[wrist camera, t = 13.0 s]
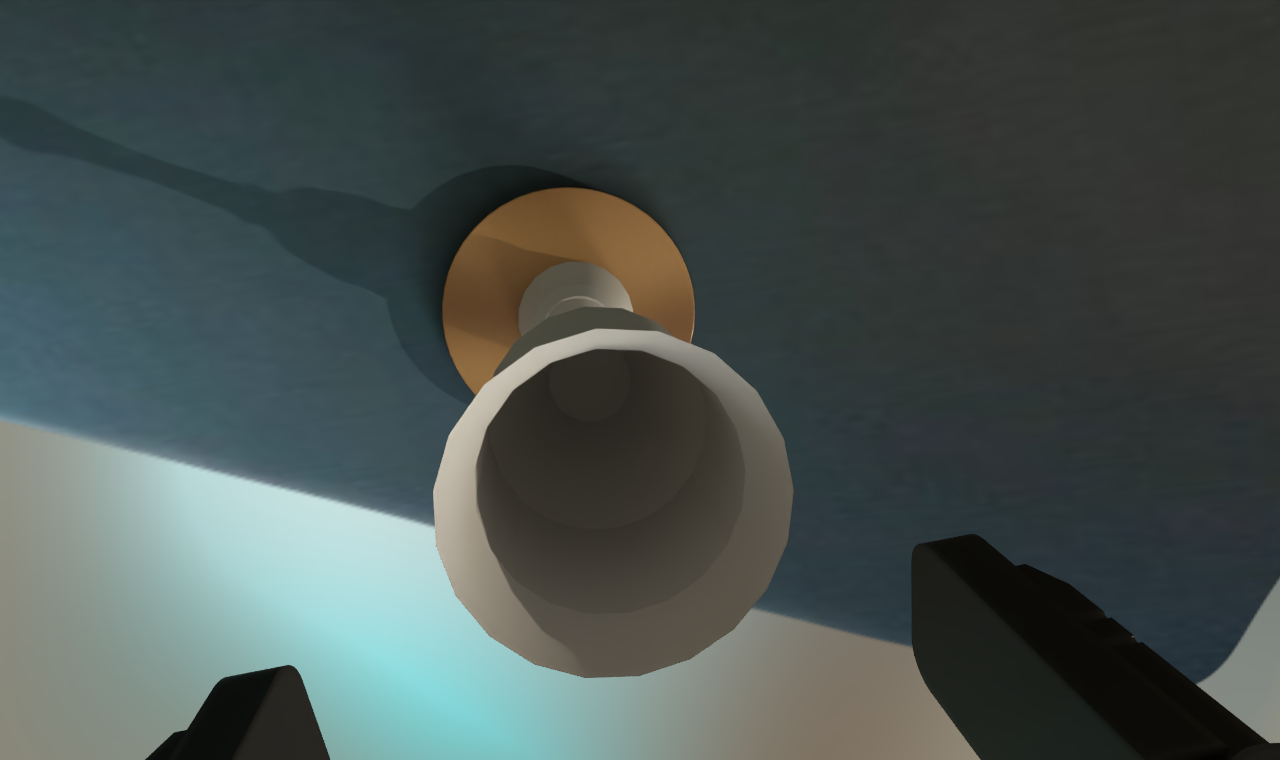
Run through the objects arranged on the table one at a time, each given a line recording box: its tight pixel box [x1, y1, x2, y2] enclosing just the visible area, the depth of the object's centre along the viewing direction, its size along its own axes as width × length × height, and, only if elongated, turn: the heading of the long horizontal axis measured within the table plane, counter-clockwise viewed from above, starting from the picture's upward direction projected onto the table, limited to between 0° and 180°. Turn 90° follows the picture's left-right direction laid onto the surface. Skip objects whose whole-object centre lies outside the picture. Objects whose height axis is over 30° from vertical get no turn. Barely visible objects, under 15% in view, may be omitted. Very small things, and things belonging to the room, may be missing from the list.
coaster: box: [442, 187, 695, 395], centre depth 30 cm, size 11×11×1 cm
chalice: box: [433, 262, 793, 678], centre depth 21 cm, size 7×7×18 cm
